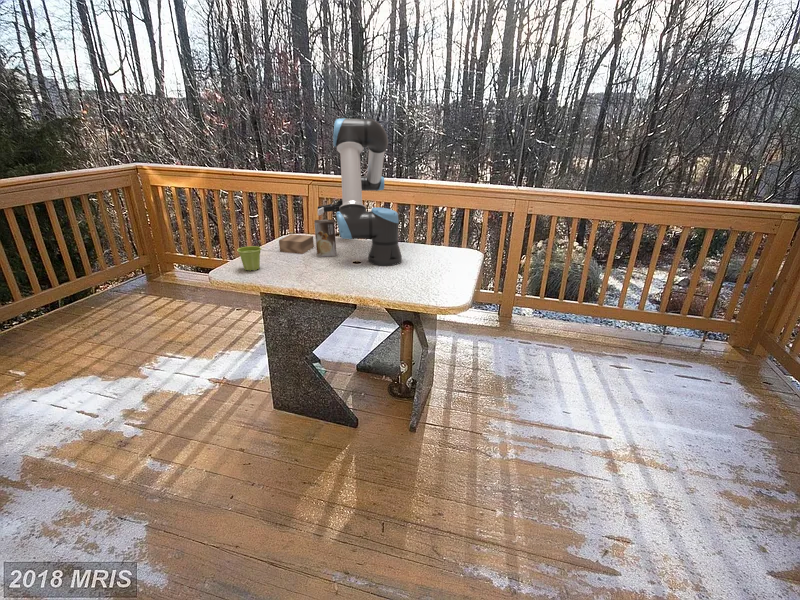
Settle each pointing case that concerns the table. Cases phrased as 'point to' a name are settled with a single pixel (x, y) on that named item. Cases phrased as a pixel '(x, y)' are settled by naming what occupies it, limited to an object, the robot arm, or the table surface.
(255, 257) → the plant pot
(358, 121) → the robot arm
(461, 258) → the table surface
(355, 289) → the table surface
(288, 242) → the walnut block
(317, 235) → the coffee box
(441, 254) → the table surface
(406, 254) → the table surface
